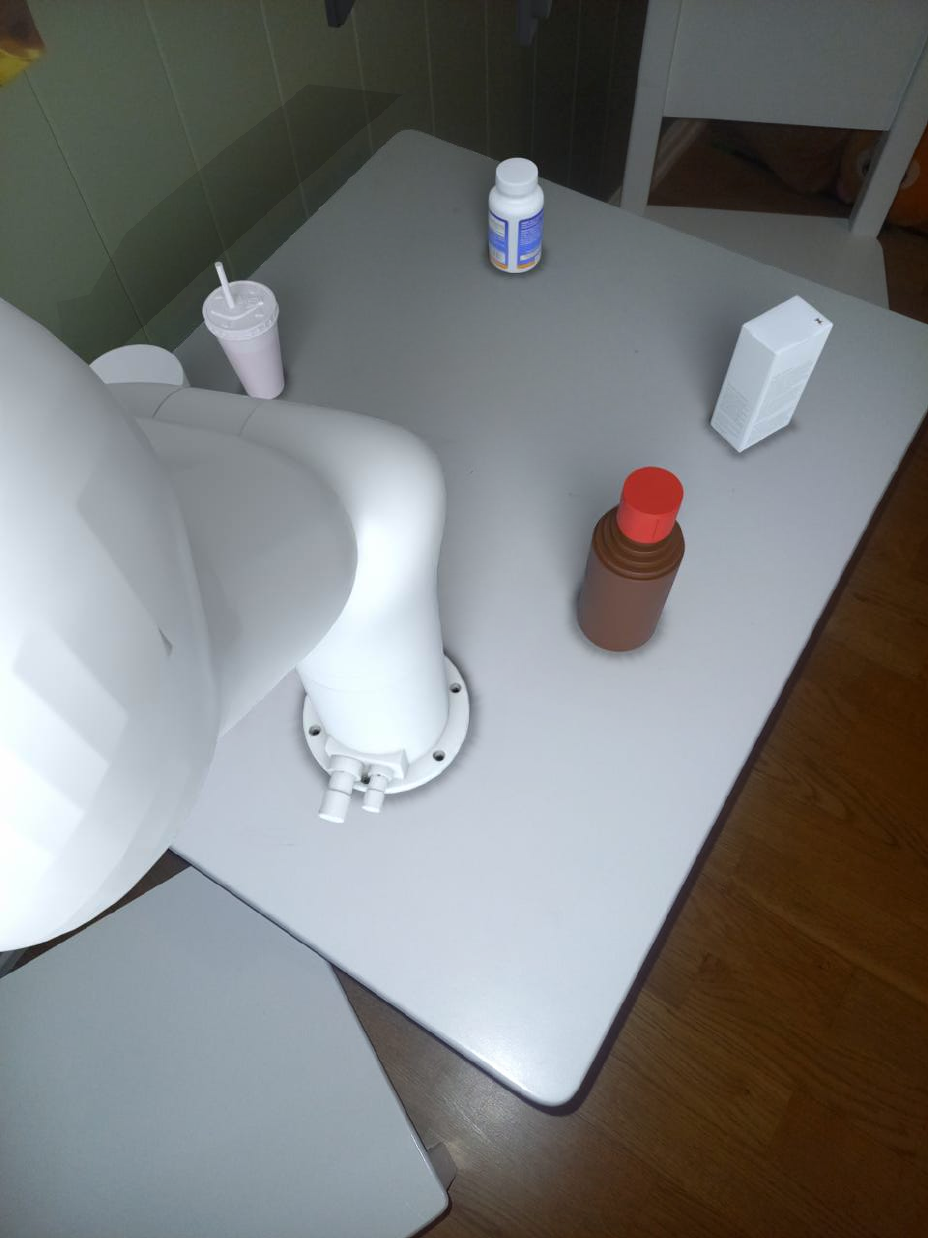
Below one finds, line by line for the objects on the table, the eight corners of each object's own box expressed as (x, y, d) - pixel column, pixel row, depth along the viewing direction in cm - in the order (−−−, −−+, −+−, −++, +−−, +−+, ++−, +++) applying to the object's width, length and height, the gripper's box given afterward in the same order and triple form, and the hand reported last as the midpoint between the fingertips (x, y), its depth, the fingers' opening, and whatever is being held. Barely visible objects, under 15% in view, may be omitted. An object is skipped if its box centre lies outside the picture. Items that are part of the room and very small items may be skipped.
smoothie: (226, 369, 82) (180, 245, 69) (291, 354, 83) (256, 228, 70) (238, 418, 79) (192, 298, 66) (305, 401, 80) (271, 279, 67)
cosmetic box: (757, 395, 79) (798, 291, 68) (788, 425, 77) (836, 323, 66) (706, 424, 77) (741, 322, 67) (737, 455, 76) (778, 355, 65)
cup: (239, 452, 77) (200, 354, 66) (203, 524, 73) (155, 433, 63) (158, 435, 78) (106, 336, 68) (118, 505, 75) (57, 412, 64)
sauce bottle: (665, 646, 67) (715, 529, 52) (585, 656, 67) (613, 542, 52) (646, 577, 70) (688, 448, 55) (570, 587, 70) (592, 460, 55)
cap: (680, 540, 55) (690, 512, 52) (623, 547, 55) (630, 519, 52) (666, 492, 57) (675, 462, 54) (610, 499, 57) (617, 470, 54)
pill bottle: (542, 240, 89) (548, 152, 81) (539, 276, 87) (544, 189, 78) (490, 238, 90) (491, 150, 81) (486, 273, 87) (486, 187, 79)
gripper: (118, -518, 27) (249, 47, 42) (657, -509, 25) (593, 82, 40) (199, -572, 31) (294, -31, 46) (680, -568, 29) (613, -3, 44)
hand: (434, 21), depth 43 cm, fingers open, 9 cm apart
